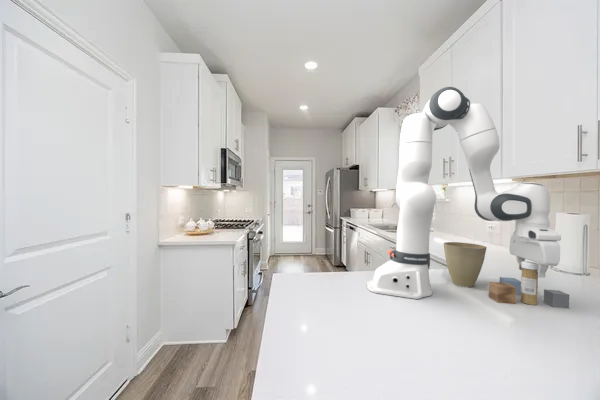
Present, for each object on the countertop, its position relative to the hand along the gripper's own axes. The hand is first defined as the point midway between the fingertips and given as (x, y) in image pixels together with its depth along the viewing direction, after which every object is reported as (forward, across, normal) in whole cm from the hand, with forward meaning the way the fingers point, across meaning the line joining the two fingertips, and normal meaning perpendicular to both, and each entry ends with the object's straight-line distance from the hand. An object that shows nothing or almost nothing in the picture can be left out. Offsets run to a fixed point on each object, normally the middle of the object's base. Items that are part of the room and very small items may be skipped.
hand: (531, 273), depth 94 cm
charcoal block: (+10, 0, +7) cm, 13 cm away
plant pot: (+10, -17, -15) cm, 24 cm away
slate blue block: (+10, -11, -1) cm, 15 cm away
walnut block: (+10, 0, -9) cm, 13 cm away
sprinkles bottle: (+10, 0, -1) cm, 10 cm away
